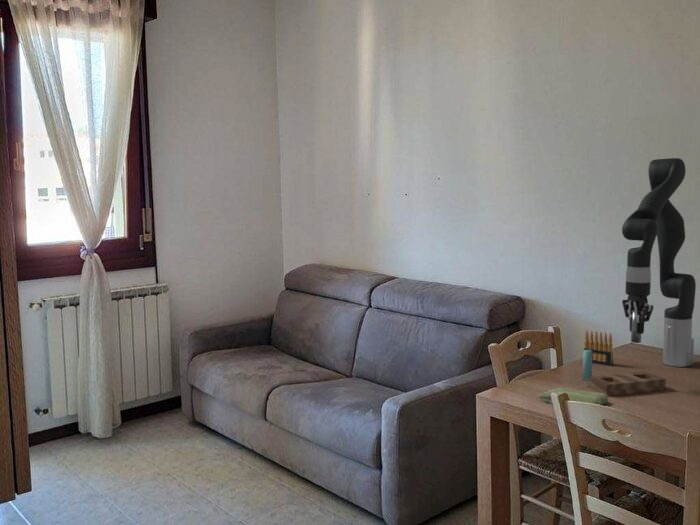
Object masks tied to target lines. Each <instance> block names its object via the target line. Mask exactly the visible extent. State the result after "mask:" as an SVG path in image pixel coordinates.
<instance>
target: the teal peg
mask: <svg viewBox="0 0 700 525" xmlns="http://www.w3.org/2000/svg"><path fill="white" fill-rule="evenodd" d="M592 376H593V363H592V350H584V349H583V350H582V381H586V382H588V380H589V377H592Z"/></svg>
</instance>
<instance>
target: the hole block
mask: <svg viewBox="0 0 700 525" xmlns="http://www.w3.org/2000/svg"><path fill="white" fill-rule="evenodd" d="M587 383H588V385H587V386H588V388H589V389H591V390H594V391H595V392H596V393H603V394H605V395H606V396H607V397H608V396H619V395H627V394H637V393H647V392H655V391H656V392H657V391H665V390H666V384H667V382H666V378H664V377H661V376H659V375H655V374H653V373H651V372H649V371H645V370H644V371H637V372H636V371H634V372H626V373H625V372H624V373H616V374H615V373H614V374H606V375H596V376H595V375H594V376H593V375H592V377H589V380H588V381H587Z"/></svg>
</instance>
